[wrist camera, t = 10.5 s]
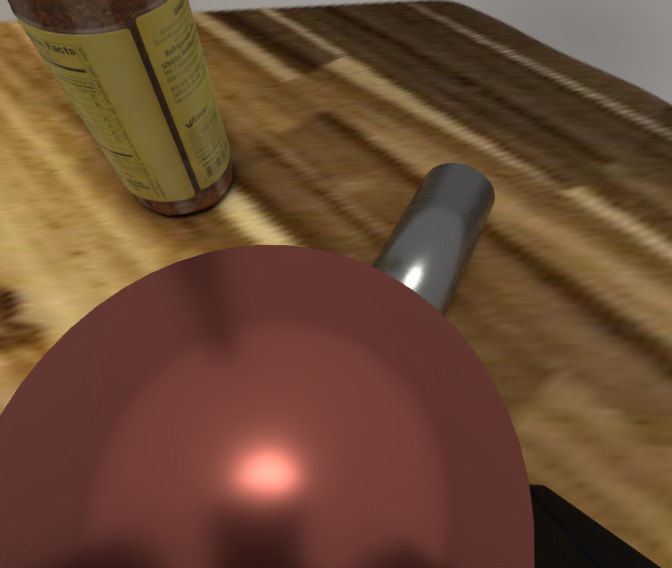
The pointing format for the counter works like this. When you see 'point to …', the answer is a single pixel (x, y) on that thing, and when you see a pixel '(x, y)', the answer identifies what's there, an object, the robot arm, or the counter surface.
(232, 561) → the jar with red lid
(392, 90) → the counter surface
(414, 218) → the dark grey handled piece
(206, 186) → the sauce bottle
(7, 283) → the counter surface
